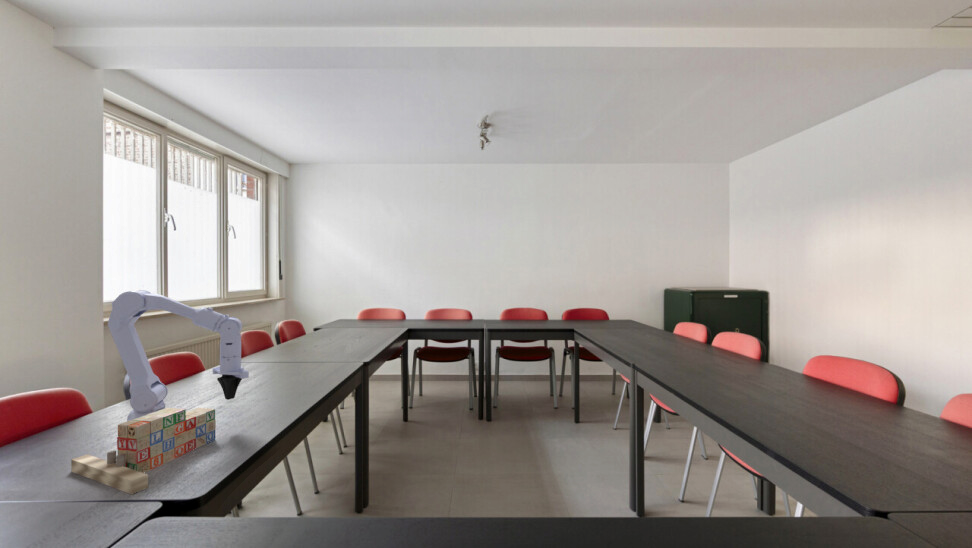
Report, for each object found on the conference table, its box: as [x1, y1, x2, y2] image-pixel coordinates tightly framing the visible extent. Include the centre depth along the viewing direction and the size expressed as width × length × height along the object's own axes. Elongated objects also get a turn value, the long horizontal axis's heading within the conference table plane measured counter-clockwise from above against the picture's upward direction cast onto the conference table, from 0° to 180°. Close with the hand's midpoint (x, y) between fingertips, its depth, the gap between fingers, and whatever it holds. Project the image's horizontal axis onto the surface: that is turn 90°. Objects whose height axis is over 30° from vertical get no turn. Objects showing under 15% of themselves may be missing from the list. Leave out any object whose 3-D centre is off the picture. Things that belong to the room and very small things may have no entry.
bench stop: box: [70, 450, 149, 495], centre depth 93 cm, size 26×4×6 cm, turn 68°
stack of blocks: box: [116, 407, 217, 473], centre depth 105 cm, size 21×6×12 cm, turn 168°
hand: (230, 398), depth 123 cm, fingers closed
